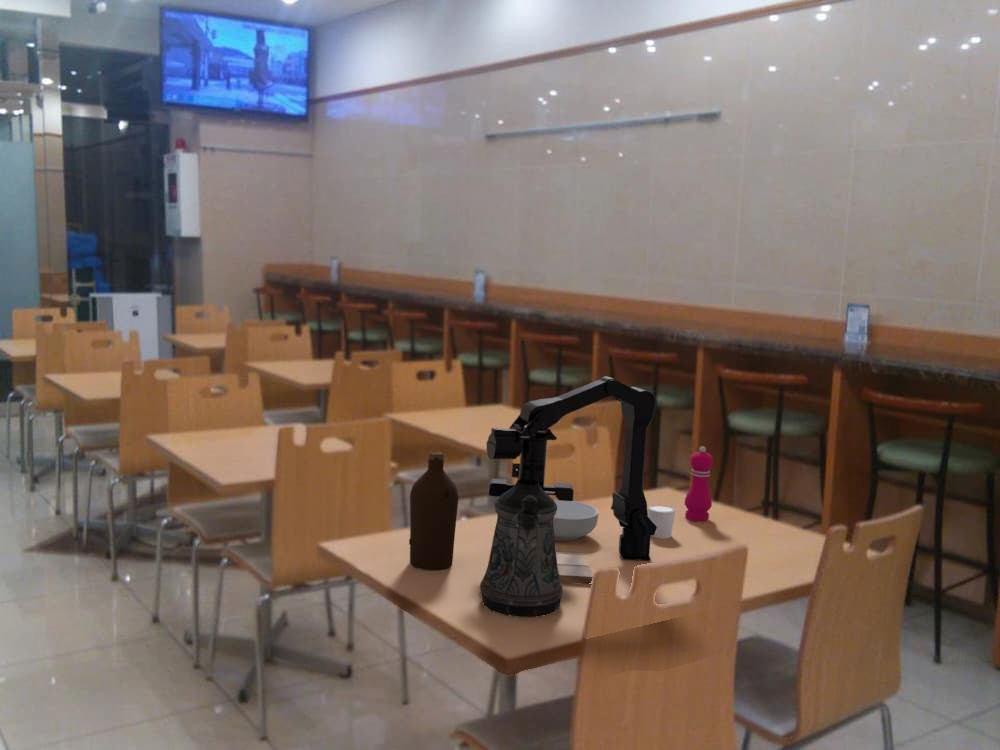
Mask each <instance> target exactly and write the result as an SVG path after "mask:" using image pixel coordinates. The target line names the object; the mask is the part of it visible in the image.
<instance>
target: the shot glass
mask: <svg viewBox="0 0 1000 750" xmlns="http://www.w3.org/2000/svg"><path fill="white" fill-rule="evenodd" d="M647 510H648V518H649V519H650V520H651V521H652V522H653V523H654V524H655V525H656V526H657V529H656V531H655V534H654V535H652V536H651V538H655V539H664V540H665V539H670V538H671V537H672V531H673V526H674V521H675V515H676V509H675V508H674V507H671V506H667V505H661V504H660V505H656V504H655V505H650V506H648V507H647Z"/></svg>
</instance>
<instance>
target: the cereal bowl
mask: <svg viewBox="0 0 1000 750" xmlns="http://www.w3.org/2000/svg"><path fill="white" fill-rule="evenodd" d="M553 500H554V502H555V503H556V505H557V511H556V514H555V516H554V518H553V525H554V537H555V540H557V539H558V540H557V541H574V539H575V540H577V539H579V538H580V537H584V536H587V535H588V534H590V533H592V532H593V531H594V529H595V528H596V526H597V523H598V521H599V520H598V519H599V510H598V509H597V508H596V507H595V506H593V505H591V504H587V503H584V502H581V501H574V500H573V501H560V500H558V499H553Z"/></svg>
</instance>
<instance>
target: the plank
mask: <svg viewBox="0 0 1000 750" xmlns="http://www.w3.org/2000/svg"><path fill="white" fill-rule="evenodd" d="M556 557H557V565H575V566H588V562H587V558H586V553H584V552H583V553H582V552H581V553H579V552H565V551H564V552H563V551H562V552H559V551H556Z"/></svg>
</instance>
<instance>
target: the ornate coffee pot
mask: <svg viewBox="0 0 1000 750" xmlns="http://www.w3.org/2000/svg"><path fill="white" fill-rule="evenodd" d="M514 484H515V486H514V487H512V488H511V489H510V490H508V491H507V492H505V493H503V494H502V495H501V496H500V497H498V498H497V499H495V500H494V501H495V502H494V509H495V513H496V514H497V517H496V523H495V528H494V532H493V537H492V543H491V548H490V552H489V558H488V564H487V567H486V570H485V573H484V576H483V578H482V579H481V582H480V585H479V589H480V594H481V601H482V604H483V607H485V606H486V607H485V608H487V609H488V610H489V609H490V611H491V610H492V611H491V612H494V611H495V612H494V613H497V612H498V613H497V614H499V613H501V614H500V615H502V614H504V615H503V616H509V615H511V617H516V616H517V618H535V617H536V616H538V617H543V615H545V616H548V615H551V614H553V612H554V613H556V612H557V611H558V609H559V608H560V605H561V602H562V598H563V593H564V588H563V585H562V584H563V583H561V581H560V577H559V572H558V566H557V557H556V552H557V550H556V539H555V537H554V525H553V518H554V516H555V514H556V511H557V505H556V503H555V502H554V500H555V499H553V498H552V497H551V495H548V494H547V493H546V492H545V491H544V490H543V489H542V488H541V487H540V486H539V483H538V481H536V480H531V479H521V480H518V479H517V480H516V483H514ZM556 610H557V611H556ZM555 611H556V612H555ZM550 613H551V614H550ZM547 614H548V615H547Z"/></svg>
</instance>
